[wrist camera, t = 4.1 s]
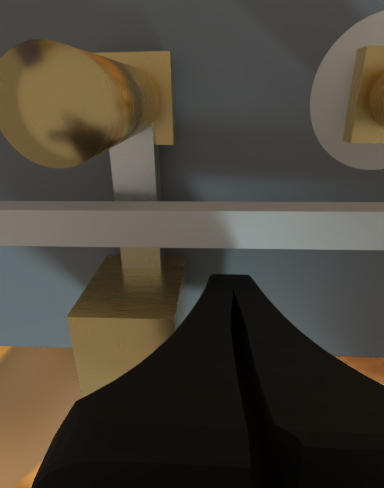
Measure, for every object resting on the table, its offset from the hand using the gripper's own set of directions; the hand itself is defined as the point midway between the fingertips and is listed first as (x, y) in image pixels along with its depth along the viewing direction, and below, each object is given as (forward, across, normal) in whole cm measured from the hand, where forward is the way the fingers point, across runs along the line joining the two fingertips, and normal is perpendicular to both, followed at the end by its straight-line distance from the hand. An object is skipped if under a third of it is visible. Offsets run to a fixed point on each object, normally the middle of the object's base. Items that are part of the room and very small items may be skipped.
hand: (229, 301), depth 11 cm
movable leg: (+1, +3, -3) cm, 4 cm away
